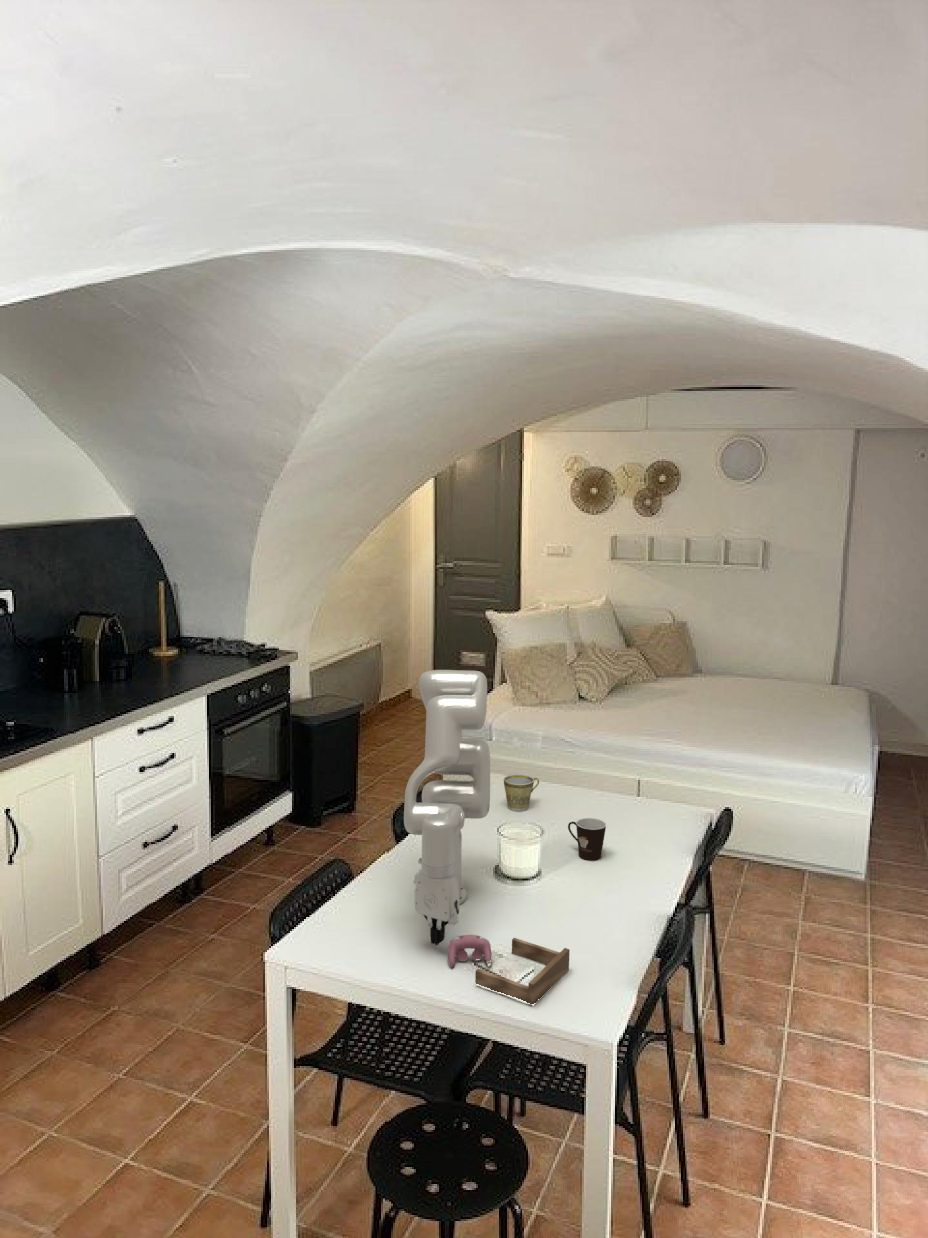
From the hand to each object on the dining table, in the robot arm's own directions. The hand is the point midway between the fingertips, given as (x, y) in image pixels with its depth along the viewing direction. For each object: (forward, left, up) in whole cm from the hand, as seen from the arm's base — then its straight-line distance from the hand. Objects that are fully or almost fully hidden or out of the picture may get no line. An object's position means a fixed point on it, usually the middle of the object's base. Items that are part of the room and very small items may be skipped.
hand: (437, 941), depth 214 cm
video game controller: (+10, -1, -2) cm, 10 cm away
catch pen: (+23, 0, -2) cm, 23 cm away
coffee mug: (+7, +68, -2) cm, 68 cm away
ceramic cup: (-27, +90, -2) cm, 94 cm away
